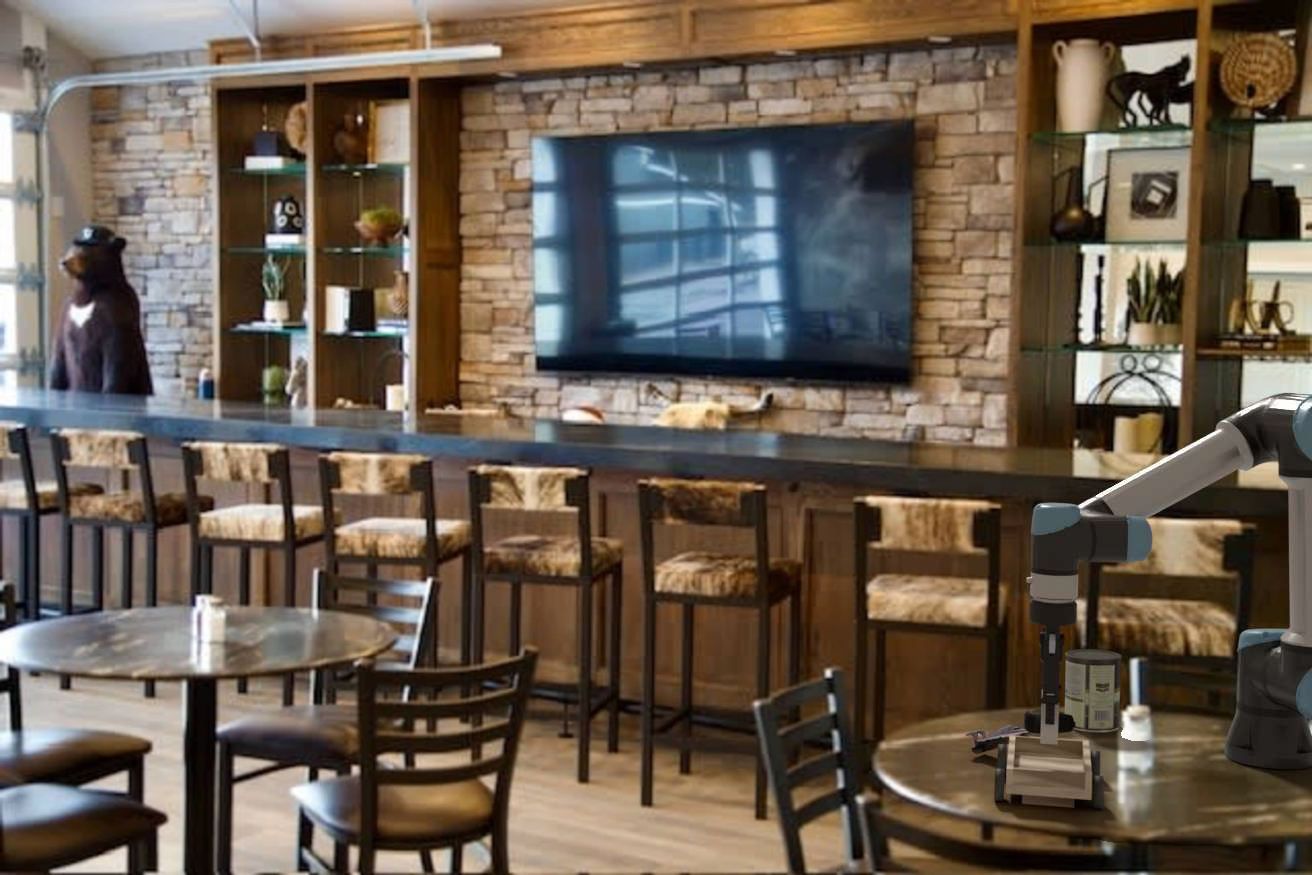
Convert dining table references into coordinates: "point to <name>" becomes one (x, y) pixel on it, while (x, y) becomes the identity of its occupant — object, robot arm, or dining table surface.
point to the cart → (1049, 772)
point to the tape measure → (1034, 722)
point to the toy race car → (995, 738)
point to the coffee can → (1093, 689)
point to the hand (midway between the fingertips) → (1048, 736)
